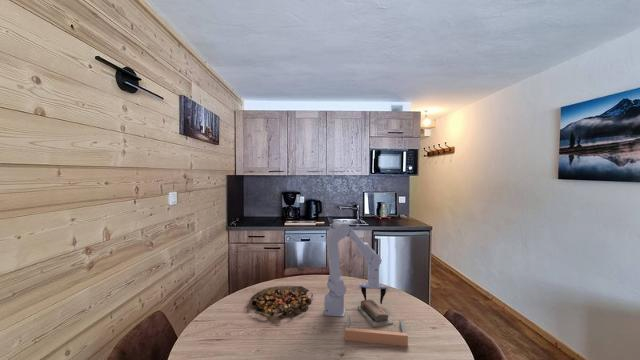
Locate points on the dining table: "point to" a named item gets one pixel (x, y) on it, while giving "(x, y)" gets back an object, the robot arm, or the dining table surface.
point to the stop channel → (376, 335)
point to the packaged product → (374, 313)
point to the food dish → (281, 302)
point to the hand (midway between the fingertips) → (373, 302)
